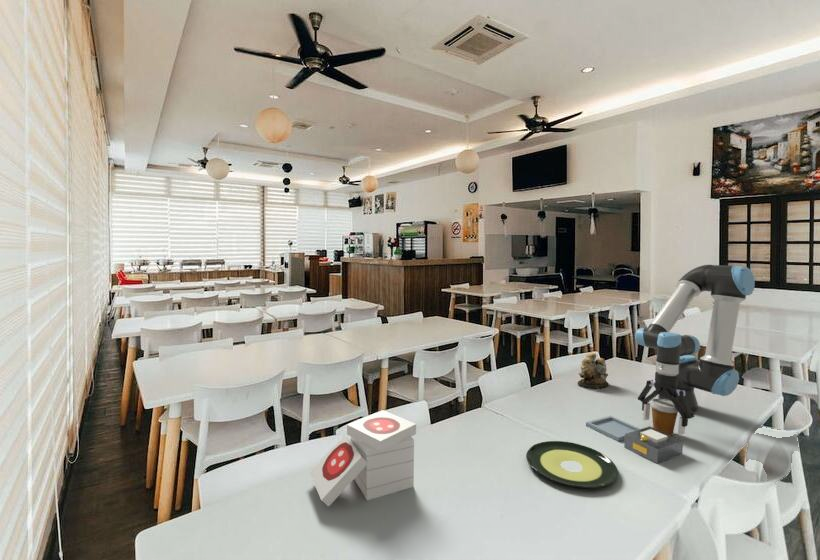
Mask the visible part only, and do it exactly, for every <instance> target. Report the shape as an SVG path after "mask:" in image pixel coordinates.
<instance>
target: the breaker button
mask: <svg viewBox="0 0 820 560" xmlns="http://www.w3.org/2000/svg"><path fill="white" fill-rule="evenodd" d="M642 435H645V436H647V437H648V439H649V440H651V441H653V442H655V443H659V442H662V441H665V440H667V439H668V436H666V435H664V434H661V433H659V432H657V431H654V430H652V429H650V430H646V431H643V432H640V436H642Z"/></svg>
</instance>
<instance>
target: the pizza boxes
mask: <svg viewBox="0 0 820 560" xmlns="http://www.w3.org/2000/svg"><path fill="white" fill-rule="evenodd" d="M346 426H347V427H346V434H344V435H343V436H342V437H341V438H340V439H339V440H338V441H337V442H336V444H334V446H332V447H331V449H329V451H328V452H327V453H326V454H325V455H324V456H323V457H322V458H321V459H320V461H319V462H317V463H316V464H315V466H314V467H312V468H311V470H310V471H309V472H308V473H309V475H310V477H311V479H312V480H311V481H312V482H313V484H314V487H315V489H316V491H317V493H318V495H319V498H320V500H321V501H322V502H323V504H325V505H326V506H327V507H330V506H331V505H332V504H333V503H334V502H335V501H336V499H337V498H338V497H339V496H340V495H341V494H342V492H344V491H345V490H346V488H347V487H348V486H349V485H350V484H351V483H352V482H353V481H355V483H356V484H357V486H358V488H359V490H360V492H361V493H362V494H363V496H364V498H365V500H366V501H370V500H374V499H377V498H380V497H383V496H386V495H391V494H394V493H398V492H401V491H403V490H408V489H411V488H414V485H415V484H414V481H415V480H414V478H415V477H414V476H415V475H414V474H415V472H414V471H415V470H414V468H415V466H414V465H415V460H414V459H415V439H414V438H413V436H415V435H416V434H417V423H414V422H412V421H410V420H407V419H405V418H403V417H400V416H398V415H396V414H393V413H391V412H389V411H386V410H384V409H381V410H378V411H376V412H374V413H372V414H369V415H367V416H365V417H364V416H363V418H360V419H357V420H355V421H352V422H350V423H348V424H346Z"/></svg>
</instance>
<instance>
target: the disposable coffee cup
mask: <svg viewBox="0 0 820 560" xmlns="http://www.w3.org/2000/svg"><path fill="white" fill-rule="evenodd" d="M649 403H650V408H651V413H652V414H651V417H652V428H655V429H657V430H660V431H662V432H664V433H667V434H669V435H671V436H673V435H674V430H675V426H676V422H677V418H678V414H679V412H678V410H677V409H676V407H675V405H674V404H673V402H672V401H670V400H666V399H658V398H653V399H652V400H651V402H649Z"/></svg>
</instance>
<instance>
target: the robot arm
mask: <svg viewBox="0 0 820 560" xmlns="http://www.w3.org/2000/svg"><path fill="white" fill-rule="evenodd" d="M675 284H676V288H675V290H674V291H673V292H672V294H670V297H669V298H668V299H667V301H666V302H665V303H664V305H663V306H662V308H661V309H660V310H659V311H658V313H657V314H656V316H655V317H654V318H653V320H651V322H650V324H649V325H648V326H647V328H646V327H639V328H638V329H637V330H636V332H635V335H634V338H635V339H634V340H635V341H636V343H637V344H638V345H639V346H643V347H646V348H650V349H654V350H656V360H655V373H654V374H655V375H654V380H653V379H650V380H649V379H648V380H646V384H645V386H644V388H643V389H642V391H641V392H640V393H639V395H638V397H637V400H638V401H640V402H641V403H642V404H641V411H643V413H642V414H643V415H642V416H643V418H642V420H643V421H648V420H650V411H651V405H650V403H651V402H650V401H652V400H653V399H655V398H656V397H657V396H658V397H657V399H666V400H670V401H672V402H673V404H674V405H675V407H676V409H677V410H678V414H679V415H680V416H679V418H678V427H677V428H678V429H677V430H678V431H677V435H679V436H682V435H685V434H686V433H685V432H686V430H685V429H686V427H687V426H688V425H689V419H693V418H694V417H695V414H694V412H697V410H698V407H699V403H698V401H697V400H698V399H697V397H696V393H695V389H698V390H701V391H704V392H706V393H707V392H709V393H710V394H711V393H712V394H713V395H718V396H721V397H726V396H727V397H728V396H729V395H731V394H732V393H733V392H734V391H735V390H736V388H737V386H738V384H739V381H740V373H739V372H738V370H736V369H735V364H734V363H733V361H732V360H731V359H732V358H731V357H732V353H733V348H734V347H733V346H734V340H735V335H736V329H737V323H738V317H739V310H740V305H741V303H742V302H744V301H746V299H747V298H746V297H747V296H751V295H752V294H753V293H754V291H755V287H756V286H755V284H756V281H755V276H754V273H753V271H752V270H751V269H750V268H749V267H747V266H740V265H726V264H725V265H724V264H723V265H721V264H720V265H719V264H703V265H698V266H697V267H695V268H692V269H691V270H689V271H687V272H686V273H685V274H684V275H683V276H682V277H681V278H680V279H679V280H678V281H677V282H676V283H675ZM703 292H710V297H711V298H712V299H713V306H712V312H711V318H710V322H709V323H710V324H709V329H708V337H707V343H706V348H705V353H704V355H703V356H701V357H700V358H699V360H698V359H697V356H695V355H694V354H695V353H698V352H699V350H700V348H701V343H700V341H699V339H698V338H697V337H695V336H694V335H690V334H683V335H682V334H679V333H677V332H671V330H672V329H673V328H674V326H675V325H676V324H677V322H678V320H680V318H681V316H682V315H683V314H684V312H685V311H686V309H687V308H688V306H689V305H690V303H691V302H693V299H695V297H698V296H700V294H701V293H703ZM653 387H654V388H655V389H654V390H653V391H652V392H651V390H652V388H653ZM650 392H651V393H650ZM649 393H650V394H649ZM648 394H649V395H648ZM647 395H648V396H647Z"/></svg>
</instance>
